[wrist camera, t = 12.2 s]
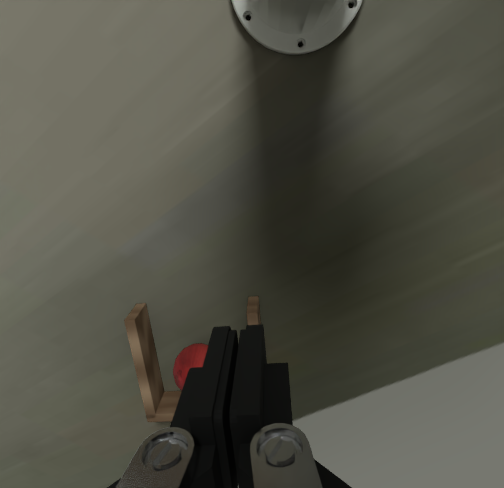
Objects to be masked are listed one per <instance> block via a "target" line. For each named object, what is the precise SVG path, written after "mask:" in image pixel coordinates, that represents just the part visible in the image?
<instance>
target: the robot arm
mask: <svg viewBox="0 0 504 488" xmlns="http://www.w3.org/2000/svg"><path fill="white" fill-rule="evenodd" d="M231 1H232V4H233V7H234V10H235V12H236V14H237V16H238V19H239V21H240V22H241V24H242V25H243V27H244V28H245V30H246V31H247V32H248V33H249V34H250V35H251V36H252V37H253V38H254V39H255V40H256V41H257V42H258V43H260V44H261V45H263V46H265V47H266V48H268V49H270V50H273V51H275V52H278V53H283V54H289V55H296V54H306V53H310V52H313V51H316V50H318V49H320V48H322V47H324V46H326V45H328V44H330V43H331V42H332V41H333V40H335V39H336V38H337V37H339V36H340V34H341V33H342V32H343V31H344V30H345V29H346V28H347V27H348V26H349V24H350V23H351V21H352V20H353V19H354V17H355V15H356V14H357V12H358V10H359V8H360V6H361V4H362V1H363V0H231ZM349 3H351V4H352V5H353V8H349V7H348V4H349ZM247 16H250V17H251V19H250V20H249V21H247V20H246V17H247ZM300 42H301V43H302V44H303V47H301V48H300V47H298V43H300ZM238 485H239V488H351V487H350V486H349V485H347V484H346V483H345V482H344V481H342V480H341V479H340V478H338V477H337V476H335V475H334V474H333V473H332V472H330V471H329V470H328V469H326V468H325V467H324V466H322V465H321V464H320V463H318V462H317V461H316V460H315V459H314V458H313V455H312V451H311V448H310V445H309V442H308V440H307V438H306V436H305V434H304V433H303V432H302V431H301V430H300V429H298V428H296V427H294V426H293V425H292V411H291V398H290V385H289V372H288V363H273V364H267V360H266V349H265V339H264V329H263V324H258V325H247V327H246V330H241V331H240V338H239V345H238V338H237V331H236V330H231V328H230V326H224V327H214V328H213V330H212V334H211V338H210V341H209V345H208V348H207V352H206V356H205V359H204V363H203V367H193V368H190V369H189V371H188V374H187V377H186V380H185V383H184V386H183V389H182V392H181V395H180V398H179V401H178V404H177V407H176V410H175V413H174V416H173V419H172V422H171V425H170V427H168V428H164V429H161V430H158V431H156V432H155V433H153V434H151V435H150V436H149V437H147V438H146V439H145V440H144V441H143V442H142V444H141V445H140V446H139V448H138V449H137V451H136V453H135V455H134V456H133V458H132V460H131V462H130V463H129V465H128V467H127V469H126V470H125V472H124V474H123V476H122V477H121V478H120V479H119V480H117V481H116V482H115V483H113V484H112V485H110V486H109V487H108V488H238Z"/></svg>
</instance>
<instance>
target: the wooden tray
mask: <svg viewBox="0 0 504 488" xmlns="http://www.w3.org/2000/svg"><path fill="white" fill-rule="evenodd" d="M124 321H125V326H126V330H127V334H128V339H129V343H130V347H131V352H132V356H133V360H134V365H135V369H136V373H137V378H138V382H139V386H140V391H141V395H142V399H143V404H144V408H145V412H146V416H147V421H148V422H165V421H172V419H173V416H174V413H175V410H176V407H177V404H178V401H179V398H180V395H181V392H182V391H167V392H164V388H163V383H162V378H161V373H160V369H159V364H158V359H157V354H156V349H155V344H154V339H153V335H152V330H151V325H150V320H149V315H148V310H147V306H146V303H143V304H136V305H135V307H134V308H133V309H132V311H131V312H130V313H129V315H128V316H127V318H126V319H125V320H124ZM247 322H248V325H258V324H261V318H260V308H259V298H258V296H252V297H248V305H247Z"/></svg>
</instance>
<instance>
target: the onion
mask: <svg viewBox="0 0 504 488" xmlns="http://www.w3.org/2000/svg"><path fill="white" fill-rule="evenodd" d="M207 348H208V345H205V344H202V343H200V344H192V345H190V346H188V347H186V348H184V349H183V350H182V351H181V352H180V354H179V355H178V356H177V358H176V360H175V364H174V369H173V375H174V379H175V382H176V385H177V386H178V387H179V388H180V390H181V391H182V389H183V386H184V383H185V380H186V377H187V374H188V371H189V369H190V368H193V367H203V363H204V359H205V356H206V352H207Z"/></svg>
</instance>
